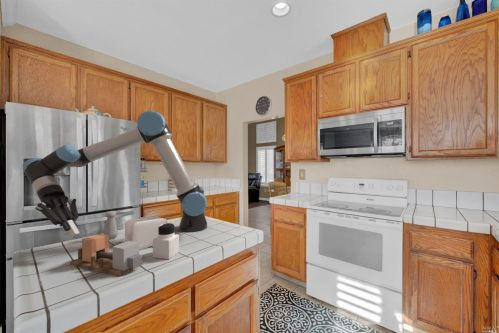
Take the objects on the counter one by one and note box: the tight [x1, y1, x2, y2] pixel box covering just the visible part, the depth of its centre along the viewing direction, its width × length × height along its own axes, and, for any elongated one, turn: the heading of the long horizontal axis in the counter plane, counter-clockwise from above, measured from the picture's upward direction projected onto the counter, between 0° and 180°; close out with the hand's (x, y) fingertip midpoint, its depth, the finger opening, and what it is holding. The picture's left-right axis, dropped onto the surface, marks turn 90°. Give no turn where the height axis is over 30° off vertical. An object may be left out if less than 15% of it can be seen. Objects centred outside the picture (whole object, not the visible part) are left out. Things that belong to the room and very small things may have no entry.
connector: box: [112, 241, 142, 271], centre depth 71 cm, size 7×6×7 cm
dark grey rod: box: [96, 251, 113, 260], centre depth 76 cm, size 19×2×2 cm, turn 70°
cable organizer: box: [124, 214, 168, 251], centre depth 94 cm, size 15×11×12 cm
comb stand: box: [69, 247, 144, 277], centre depth 75 cm, size 24×9×5 cm, turn 70°
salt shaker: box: [103, 210, 119, 241], centre depth 102 cm, size 6×6×13 cm
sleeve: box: [81, 233, 110, 262], centre depth 77 cm, size 5×6×8 cm
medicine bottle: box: [152, 222, 180, 260], centre depth 83 cm, size 7×7×12 cm
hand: (76, 235), depth 80 cm, fingers closed
